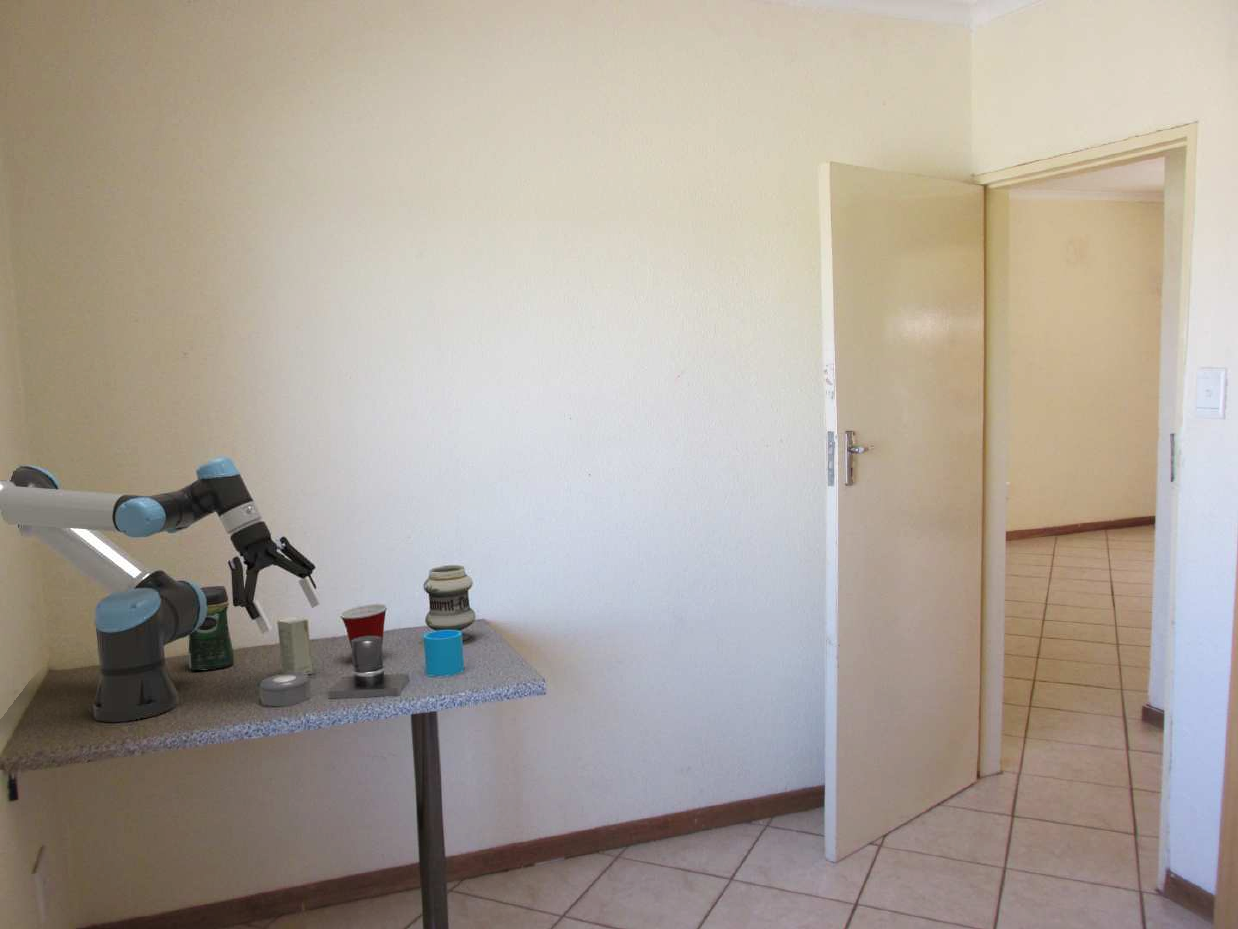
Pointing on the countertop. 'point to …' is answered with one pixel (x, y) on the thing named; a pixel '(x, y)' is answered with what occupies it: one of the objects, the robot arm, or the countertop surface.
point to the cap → (285, 689)
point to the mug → (443, 652)
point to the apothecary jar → (449, 599)
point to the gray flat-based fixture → (368, 673)
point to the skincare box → (295, 645)
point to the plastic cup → (364, 621)
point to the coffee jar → (212, 634)
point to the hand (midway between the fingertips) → (293, 618)
